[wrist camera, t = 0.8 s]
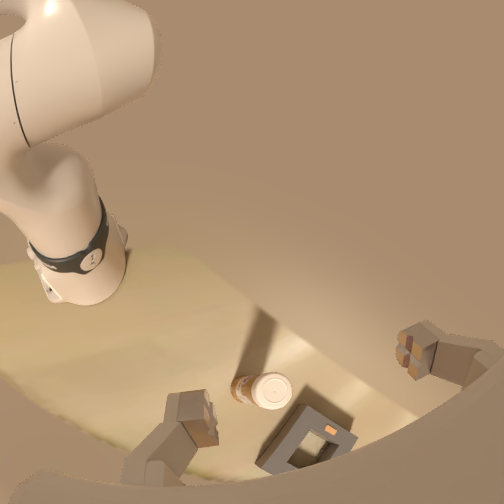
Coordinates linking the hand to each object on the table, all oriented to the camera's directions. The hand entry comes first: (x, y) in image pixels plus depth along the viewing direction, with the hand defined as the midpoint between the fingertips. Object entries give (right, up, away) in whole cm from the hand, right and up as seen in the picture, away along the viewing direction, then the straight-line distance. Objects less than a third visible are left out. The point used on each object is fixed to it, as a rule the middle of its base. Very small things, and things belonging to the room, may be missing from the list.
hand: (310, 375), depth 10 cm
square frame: (+7, -29, +26) cm, 40 cm away
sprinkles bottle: (-4, -17, +29) cm, 34 cm away
